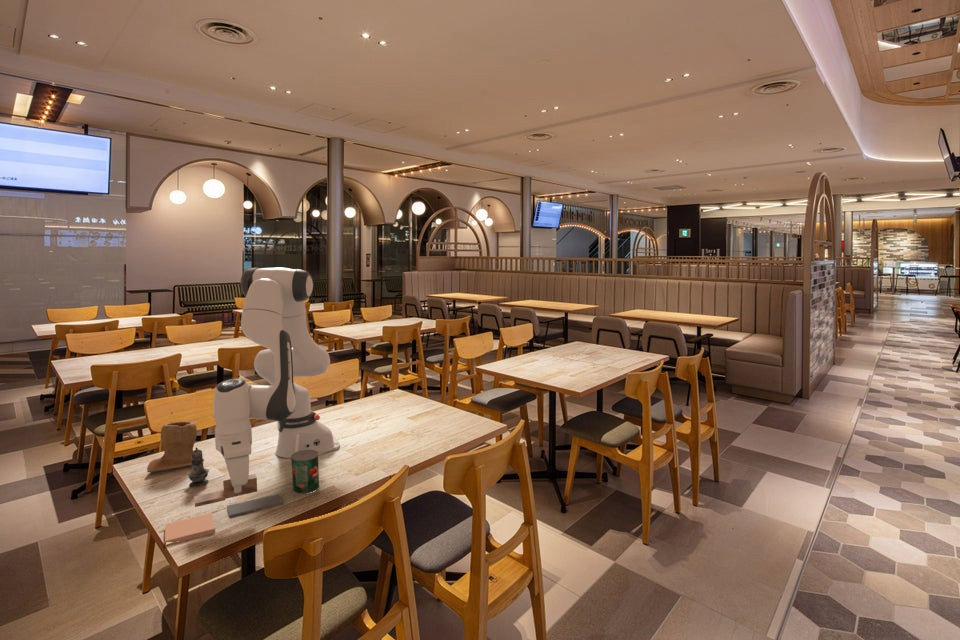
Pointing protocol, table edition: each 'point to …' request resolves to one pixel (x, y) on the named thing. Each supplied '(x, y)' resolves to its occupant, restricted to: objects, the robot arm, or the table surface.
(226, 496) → the wooden l-shaped bracket
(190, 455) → the tan suede boot
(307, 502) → the table surface
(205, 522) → the tile
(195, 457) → the dark grey stupa figurine
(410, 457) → the table surface
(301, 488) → the canned tomato
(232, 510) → the grey flat slab
